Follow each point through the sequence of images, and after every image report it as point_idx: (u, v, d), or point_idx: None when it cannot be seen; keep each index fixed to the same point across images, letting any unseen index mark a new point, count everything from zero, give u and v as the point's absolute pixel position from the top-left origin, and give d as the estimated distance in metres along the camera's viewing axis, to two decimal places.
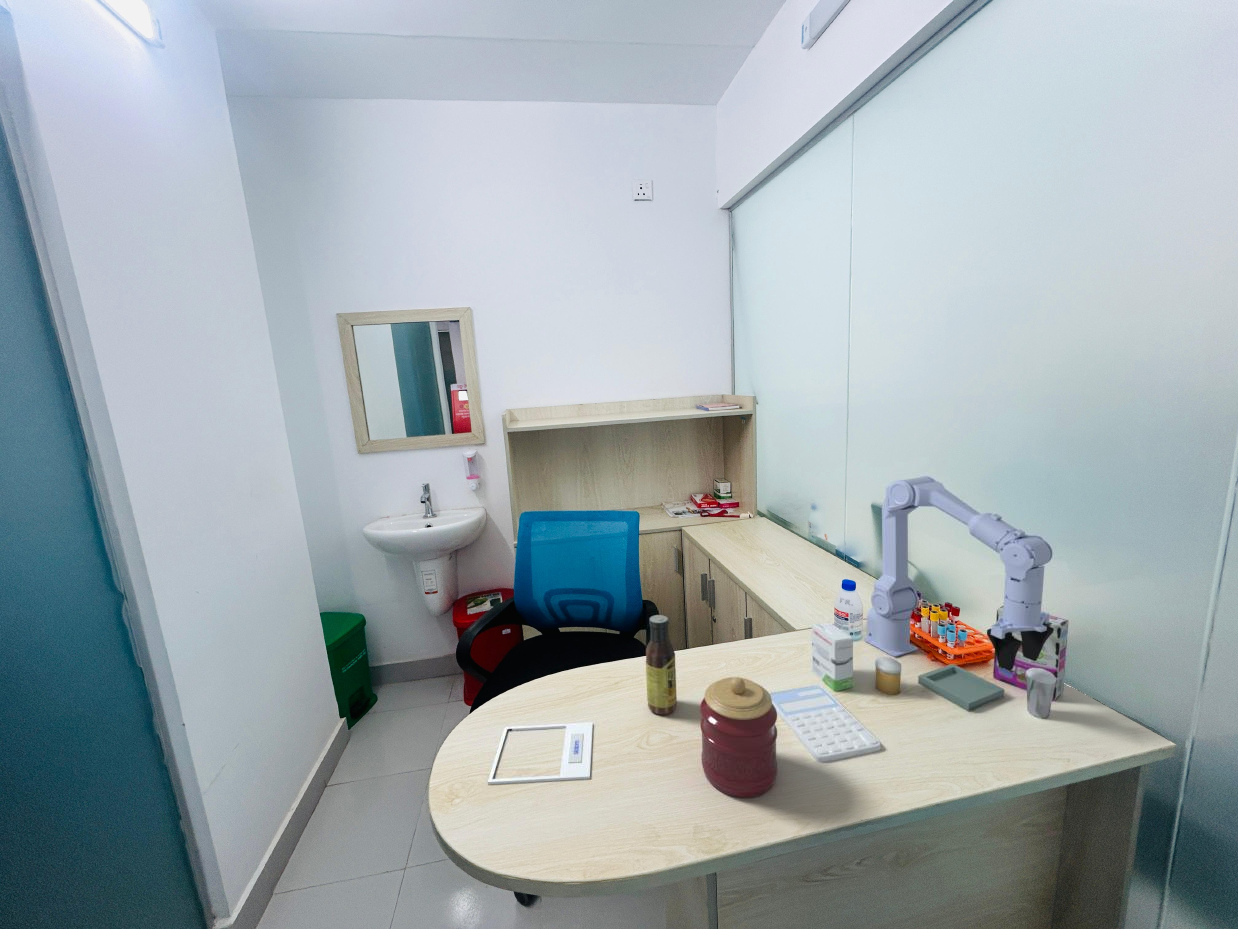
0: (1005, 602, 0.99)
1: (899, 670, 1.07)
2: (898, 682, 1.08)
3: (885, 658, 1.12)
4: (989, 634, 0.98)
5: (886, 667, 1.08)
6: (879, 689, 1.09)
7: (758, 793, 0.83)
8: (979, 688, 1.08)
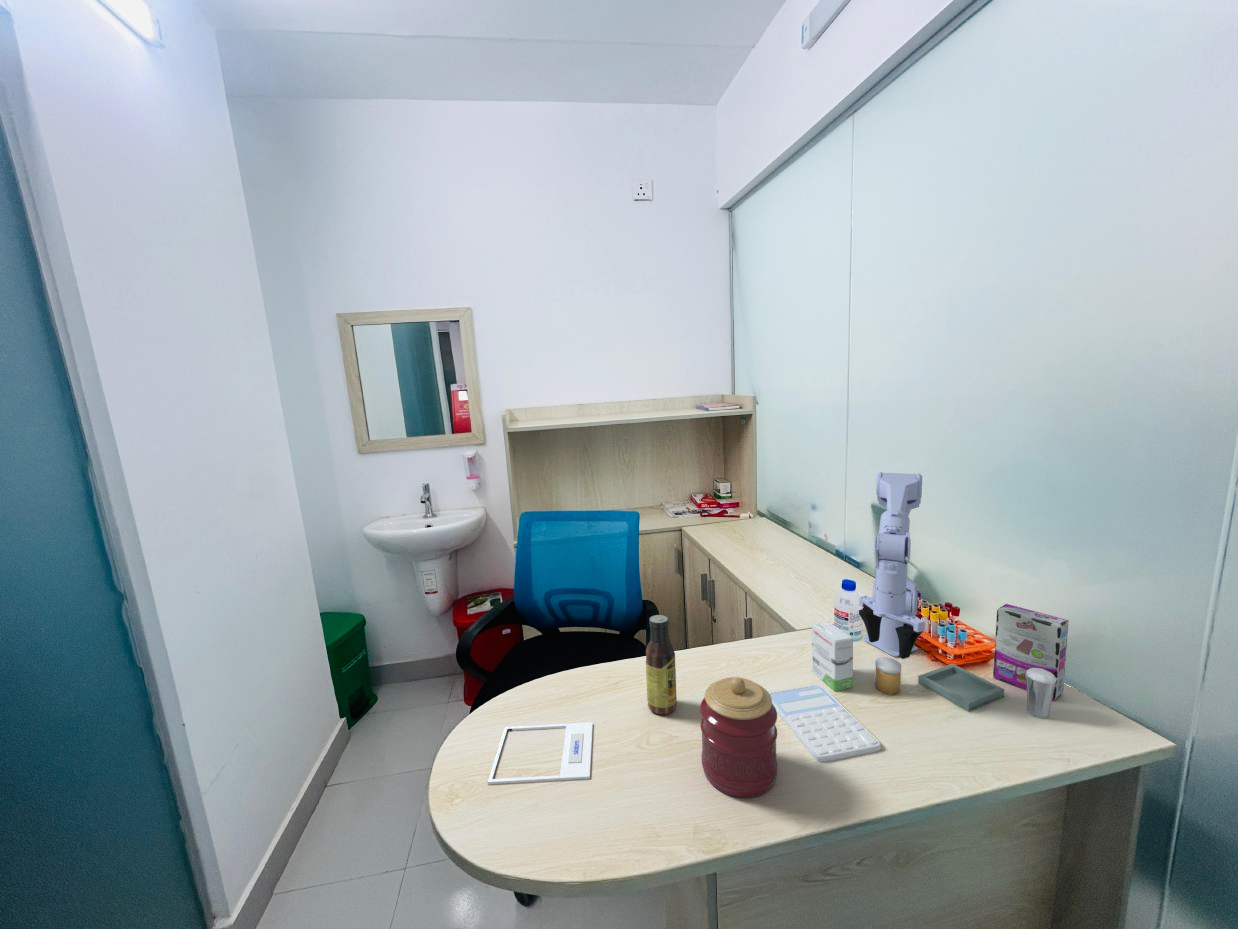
0: None
1: (899, 670, 1.07)
2: (898, 682, 1.08)
3: (885, 658, 1.12)
4: None
5: (886, 667, 1.08)
6: (879, 689, 1.09)
7: (758, 793, 0.83)
8: (979, 688, 1.08)
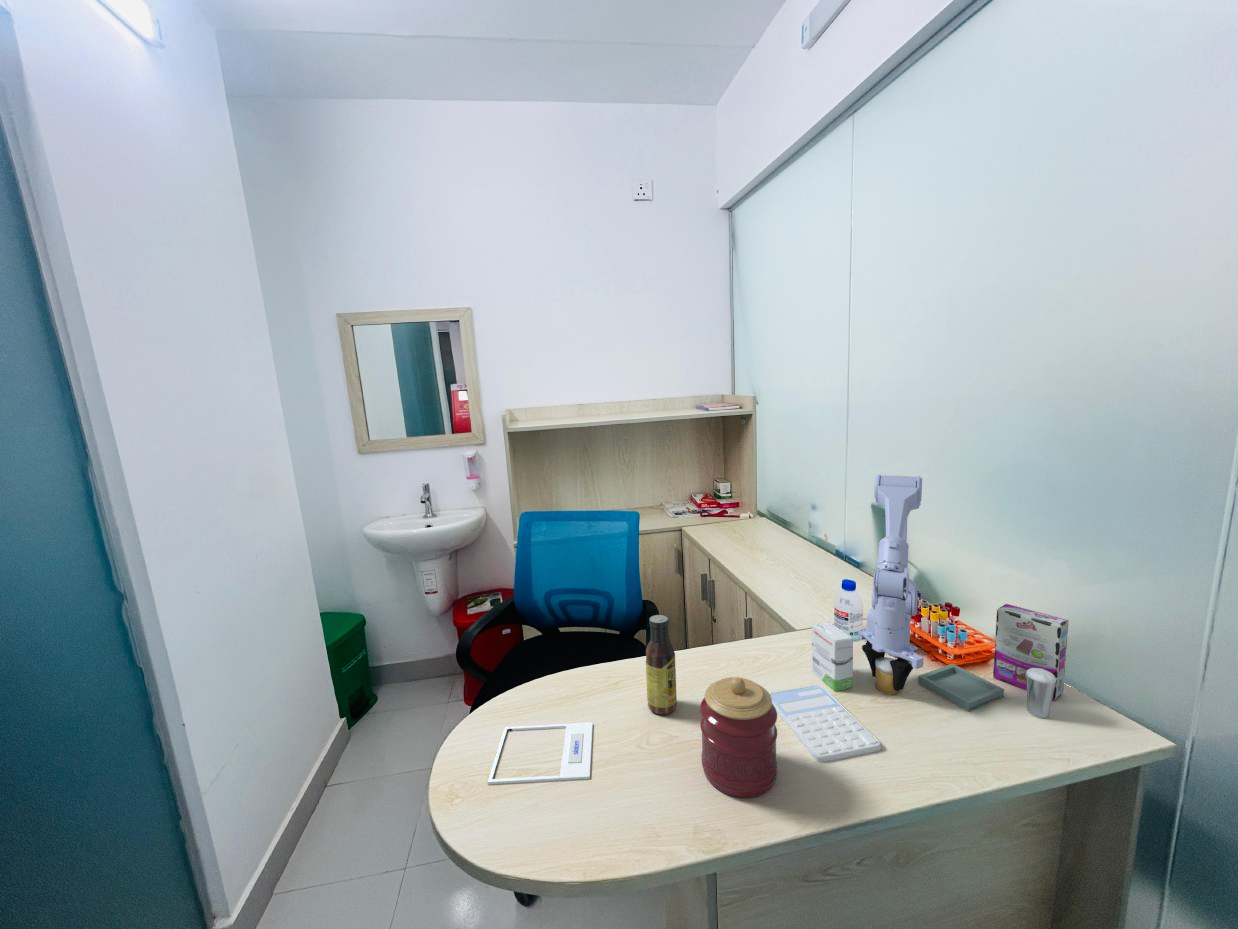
0: None
1: None
2: None
3: (885, 658, 1.11)
4: None
5: (886, 667, 1.08)
6: (879, 689, 1.09)
7: (758, 793, 0.83)
8: (979, 688, 1.08)
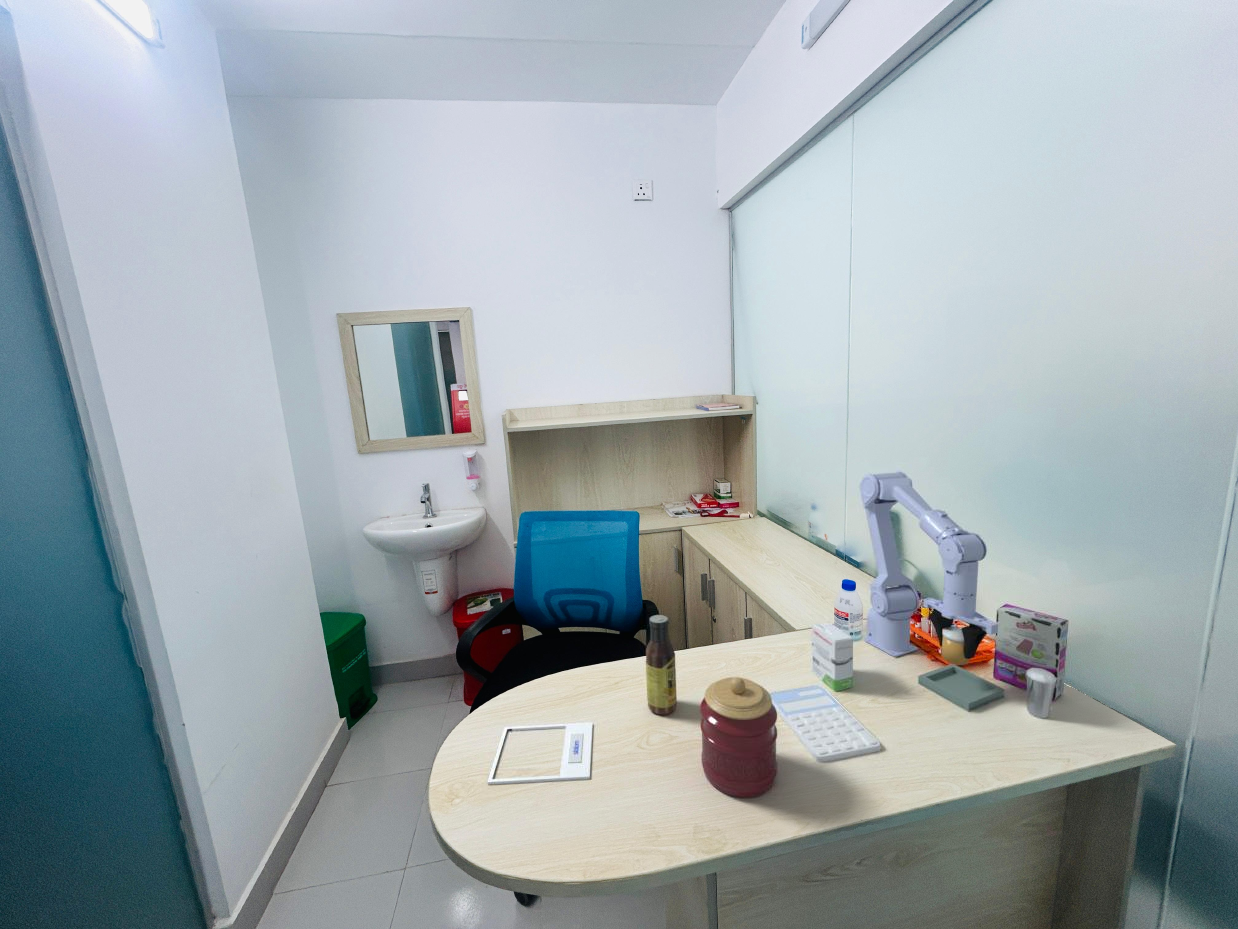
0: None
1: None
2: None
3: (953, 627, 1.09)
4: None
5: (954, 635, 1.05)
6: (946, 658, 1.07)
7: (758, 793, 0.83)
8: (979, 688, 1.08)
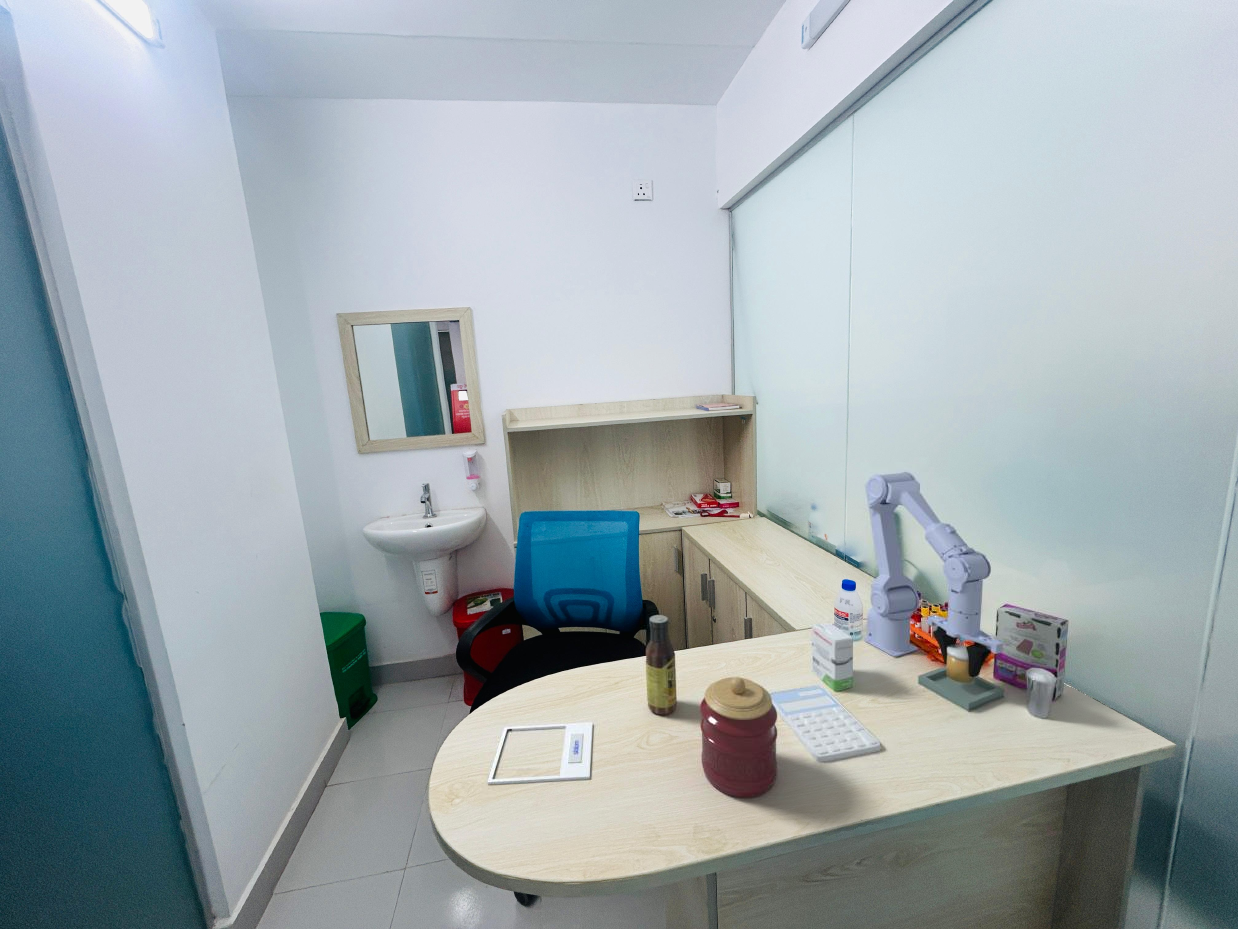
0: None
1: None
2: None
3: (958, 645, 1.09)
4: None
5: (959, 654, 1.06)
6: (950, 676, 1.07)
7: (758, 793, 0.83)
8: (979, 688, 1.08)
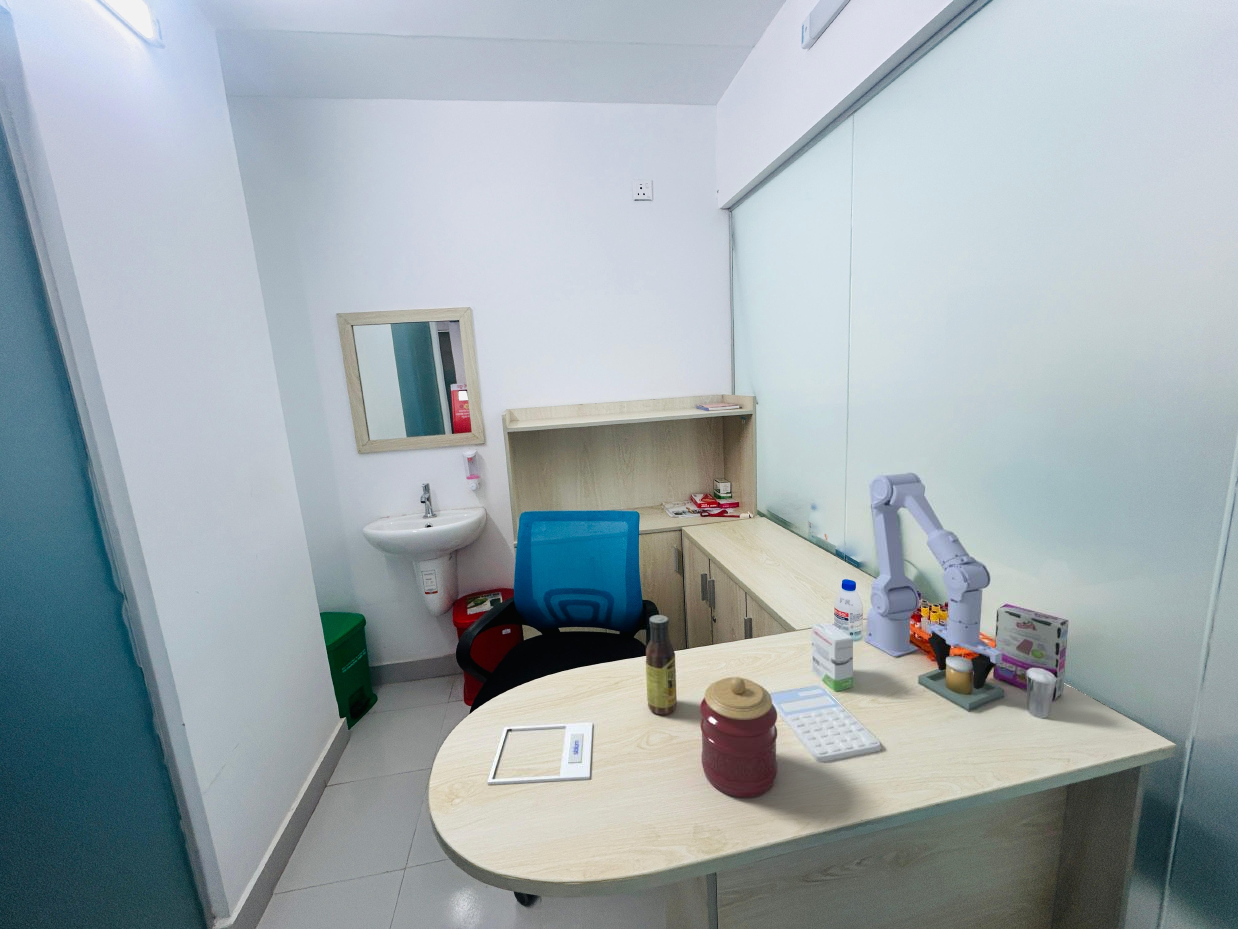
0: None
1: (972, 669, 1.05)
2: (970, 681, 1.06)
3: (957, 656, 1.10)
4: None
5: (958, 665, 1.06)
6: (950, 687, 1.08)
7: (758, 793, 0.83)
8: None
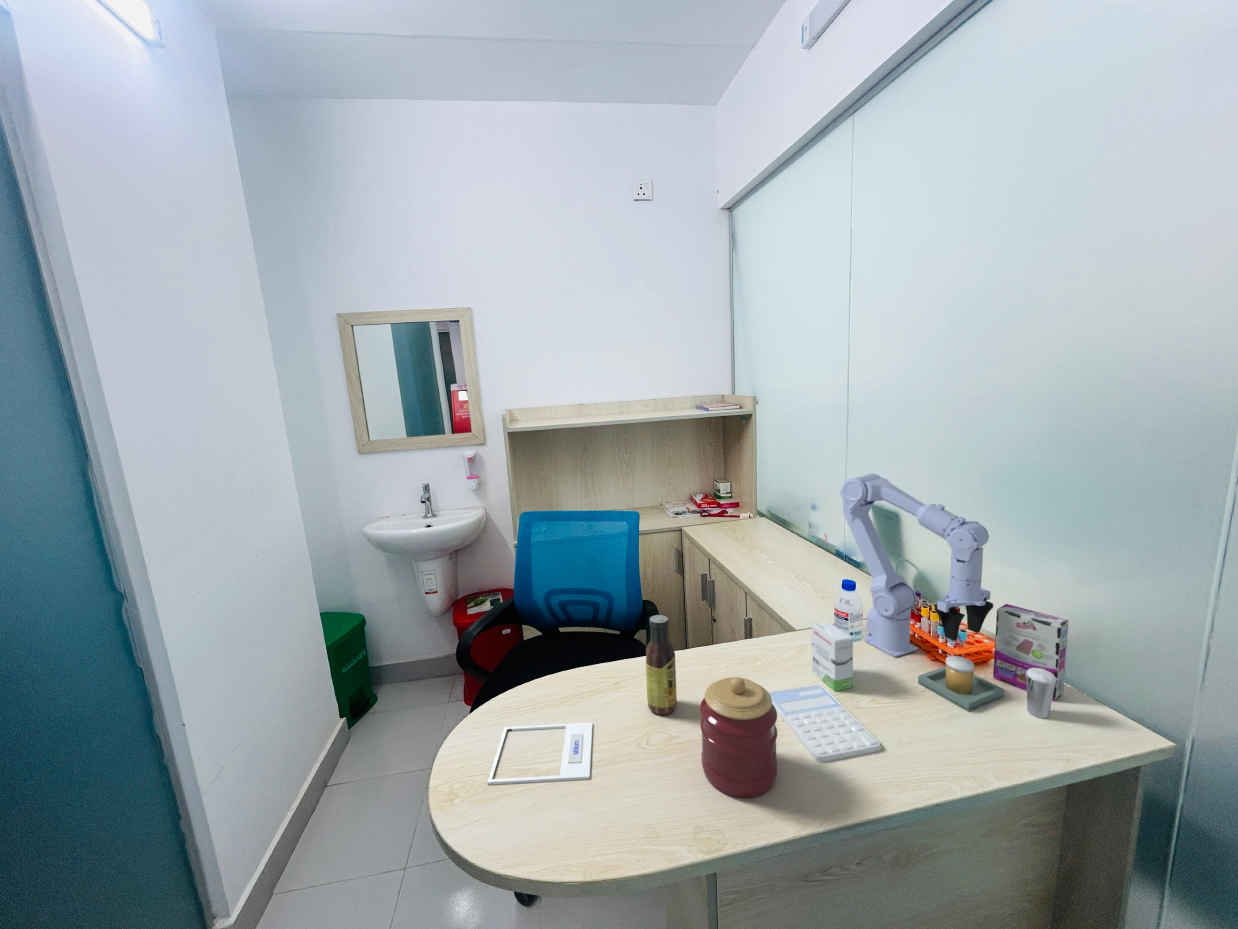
0: (950, 580, 1.12)
1: (972, 669, 1.05)
2: (970, 681, 1.06)
3: (957, 656, 1.09)
4: (936, 609, 1.12)
5: (958, 665, 1.06)
6: (950, 688, 1.08)
7: (758, 793, 0.83)
8: (979, 688, 1.08)
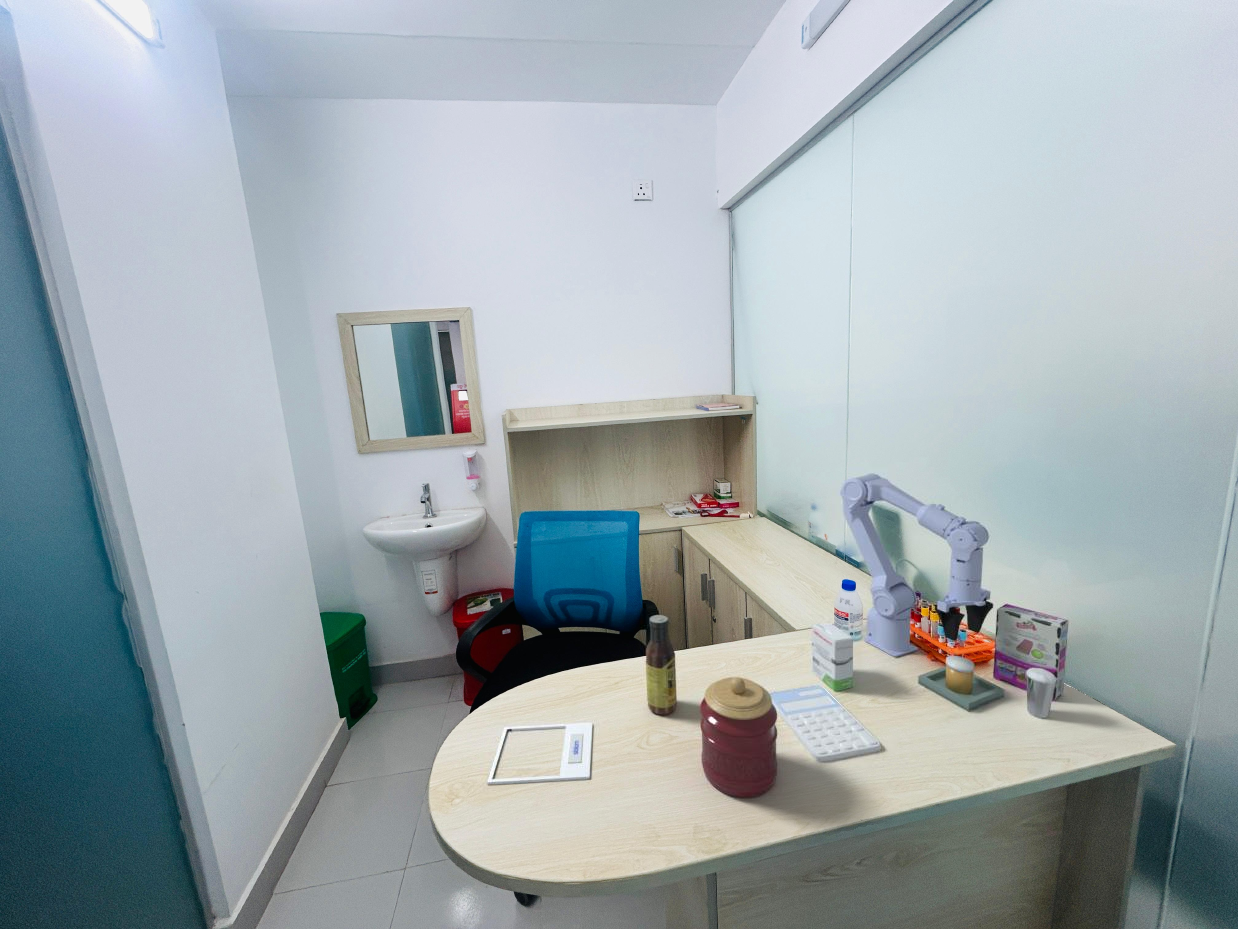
0: (950, 580, 1.12)
1: (972, 669, 1.05)
2: (970, 681, 1.06)
3: (957, 656, 1.09)
4: (936, 609, 1.12)
5: (958, 665, 1.06)
6: (950, 688, 1.08)
7: (758, 793, 0.83)
8: (979, 688, 1.08)
